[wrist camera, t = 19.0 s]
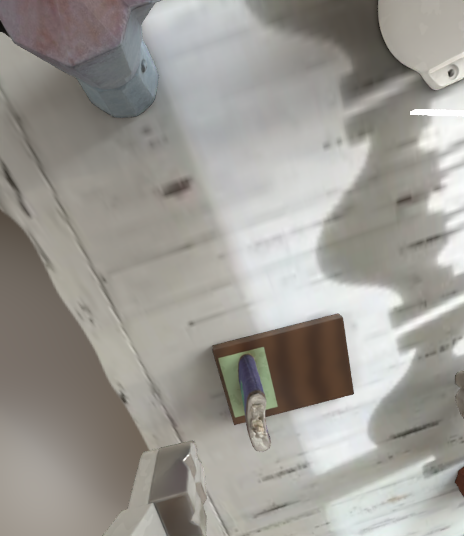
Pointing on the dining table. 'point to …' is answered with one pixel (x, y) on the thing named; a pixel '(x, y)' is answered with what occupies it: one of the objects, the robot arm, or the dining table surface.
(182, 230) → the dining table surface
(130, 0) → the moka pot
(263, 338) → the board
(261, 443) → the flask
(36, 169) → the dining table surface
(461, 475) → the muffin
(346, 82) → the dining table surface
